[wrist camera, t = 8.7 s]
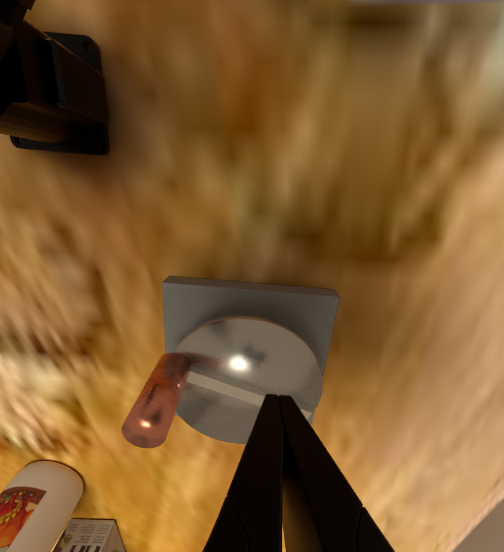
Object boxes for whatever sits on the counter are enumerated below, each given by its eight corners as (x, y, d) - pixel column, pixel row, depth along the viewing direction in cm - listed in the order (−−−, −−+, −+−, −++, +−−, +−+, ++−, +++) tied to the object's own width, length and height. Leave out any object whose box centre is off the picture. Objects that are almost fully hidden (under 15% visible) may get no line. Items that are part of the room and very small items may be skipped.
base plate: (173, 402, 25) (168, 415, 24) (168, 275, 21) (162, 282, 19) (308, 412, 26) (310, 426, 24) (334, 289, 21) (340, 297, 19)
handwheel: (340, 333, 20) (390, 422, 13) (278, 429, 24) (288, 541, 17) (193, 276, 19) (151, 338, 11) (153, 388, 23) (100, 491, 15)
